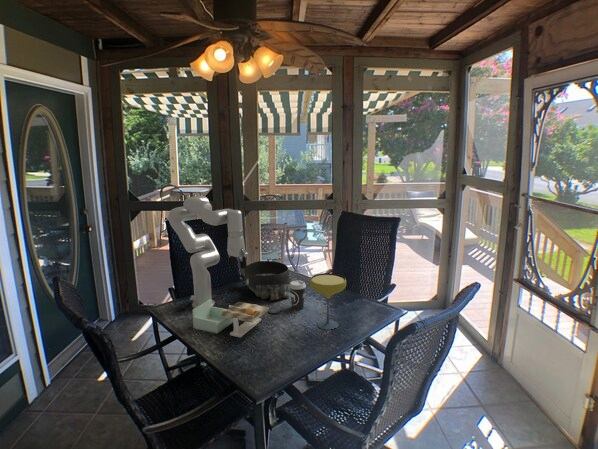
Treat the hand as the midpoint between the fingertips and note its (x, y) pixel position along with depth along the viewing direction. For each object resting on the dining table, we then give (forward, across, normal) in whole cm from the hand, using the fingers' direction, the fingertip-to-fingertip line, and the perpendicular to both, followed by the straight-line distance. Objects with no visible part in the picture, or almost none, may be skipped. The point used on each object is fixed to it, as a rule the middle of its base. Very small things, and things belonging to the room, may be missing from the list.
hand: (238, 266), depth 198 cm
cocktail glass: (+31, +37, +27) cm, 55 cm away
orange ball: (+18, +17, -6) cm, 26 cm away
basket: (+29, -20, +33) cm, 48 cm away
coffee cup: (+30, +11, +30) cm, 44 cm away
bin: (+29, -4, -14) cm, 32 cm away
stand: (+29, +10, -4) cm, 31 cm away
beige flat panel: (+21, +10, -4) cm, 24 cm away
